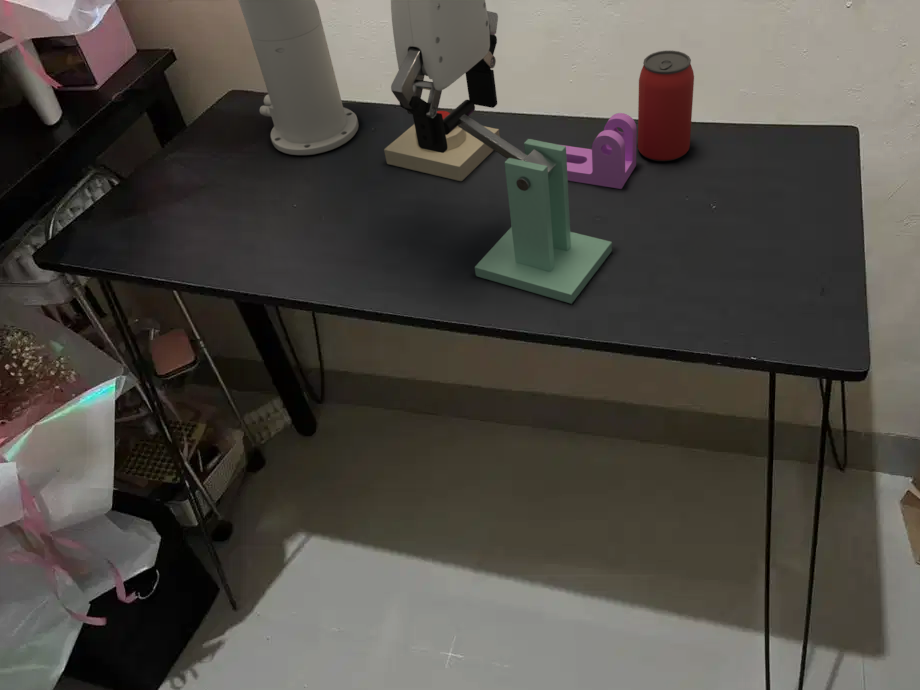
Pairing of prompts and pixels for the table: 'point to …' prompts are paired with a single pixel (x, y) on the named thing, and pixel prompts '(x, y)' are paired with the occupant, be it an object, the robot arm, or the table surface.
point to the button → (443, 113)
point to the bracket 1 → (542, 232)
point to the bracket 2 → (606, 155)
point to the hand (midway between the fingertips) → (459, 126)
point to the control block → (439, 154)
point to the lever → (491, 136)
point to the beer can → (665, 105)
